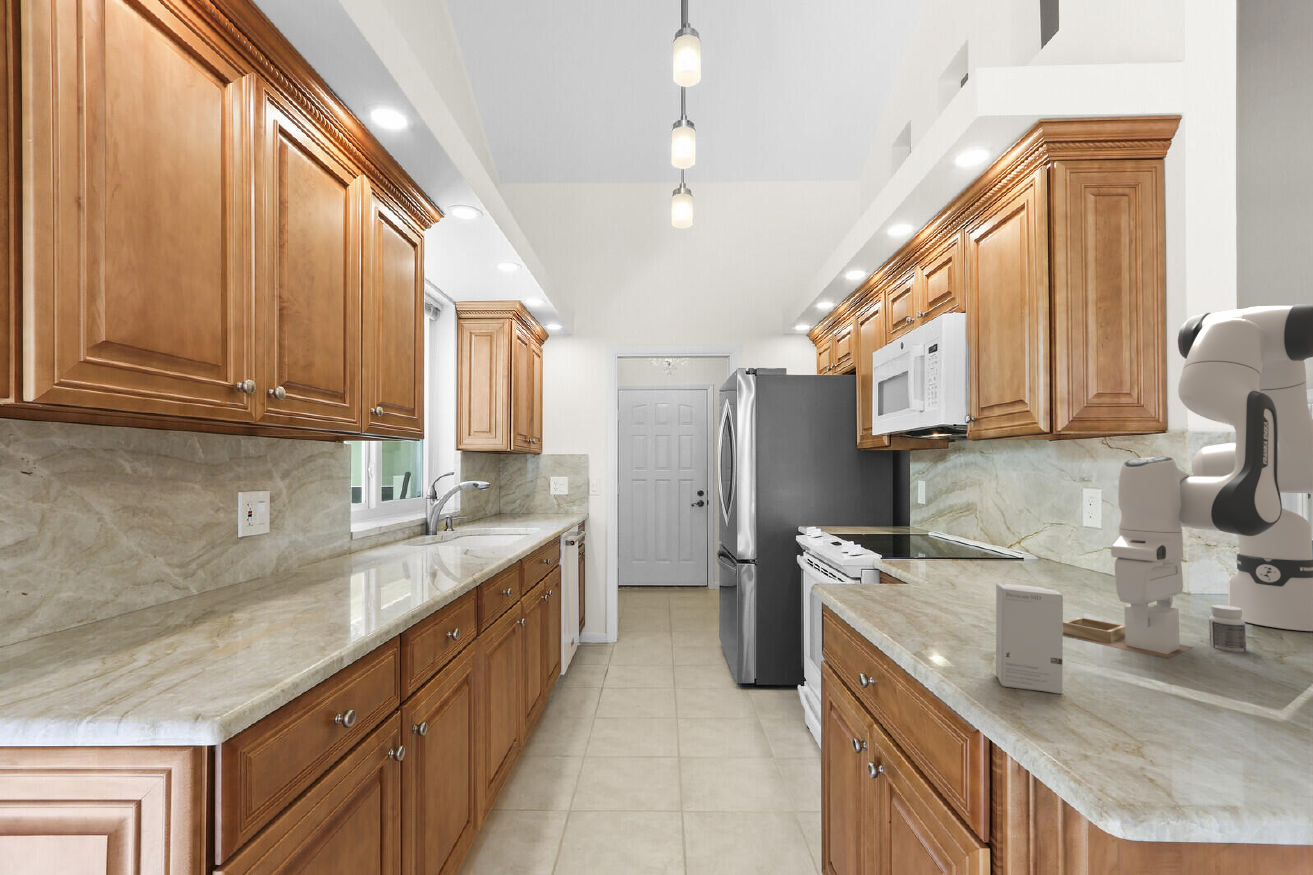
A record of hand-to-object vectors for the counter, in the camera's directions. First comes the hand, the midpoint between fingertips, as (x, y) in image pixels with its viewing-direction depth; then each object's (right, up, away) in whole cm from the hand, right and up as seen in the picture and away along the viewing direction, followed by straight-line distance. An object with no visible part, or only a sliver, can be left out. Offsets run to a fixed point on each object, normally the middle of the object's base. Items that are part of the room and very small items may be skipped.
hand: (1152, 624), depth 107 cm
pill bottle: (+13, -6, 0) cm, 15 cm away
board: (-2, -6, +4) cm, 7 cm away
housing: (0, -4, 0) cm, 4 cm away
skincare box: (-32, -5, -15) cm, 35 cm away
